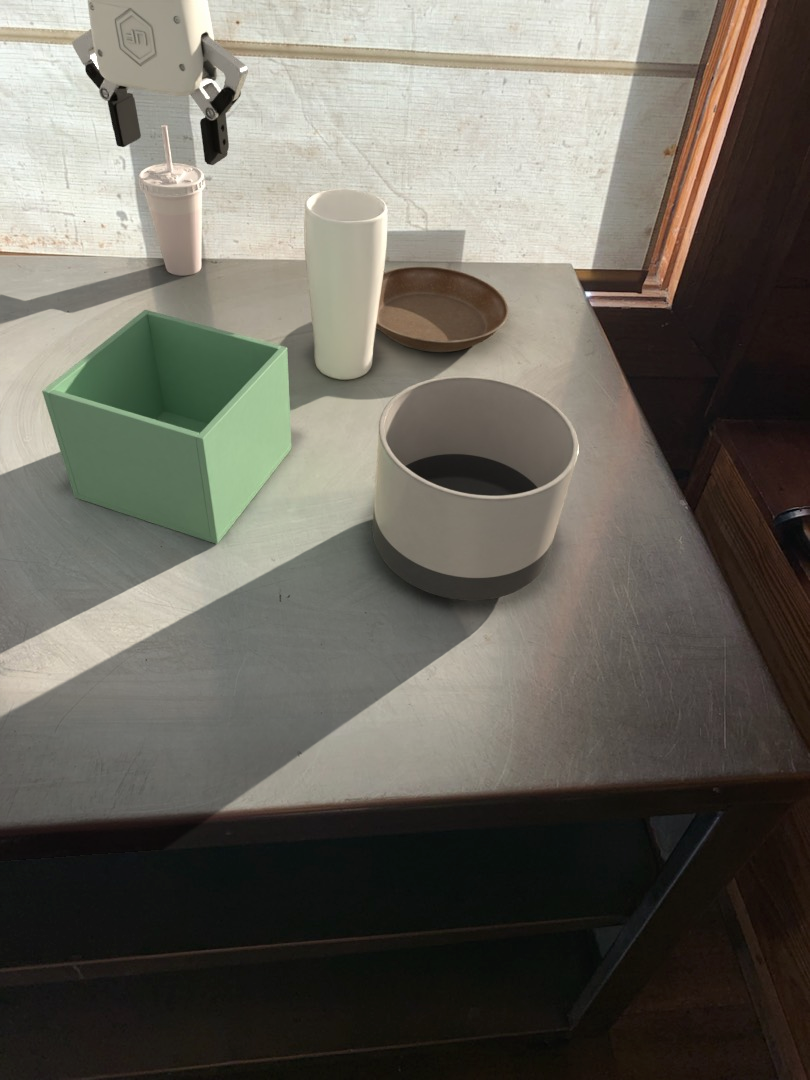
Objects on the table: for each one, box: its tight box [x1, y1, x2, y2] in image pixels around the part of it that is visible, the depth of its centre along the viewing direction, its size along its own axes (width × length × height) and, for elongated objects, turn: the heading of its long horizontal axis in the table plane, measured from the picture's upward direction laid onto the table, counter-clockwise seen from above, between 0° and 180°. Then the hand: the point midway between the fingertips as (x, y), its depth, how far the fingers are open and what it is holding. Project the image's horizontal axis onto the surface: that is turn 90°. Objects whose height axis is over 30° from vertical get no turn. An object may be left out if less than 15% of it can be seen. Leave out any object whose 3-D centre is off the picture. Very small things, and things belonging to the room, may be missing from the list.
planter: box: [372, 375, 580, 601], centre depth 54 cm, size 13×13×10 cm
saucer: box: [376, 265, 509, 353], centre depth 79 cm, size 15×15×3 cm
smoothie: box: [137, 124, 206, 277], centre depth 80 cm, size 6×6×14 cm
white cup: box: [303, 188, 388, 381], centre depth 68 cm, size 7×7×15 cm
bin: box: [42, 309, 292, 545], centre depth 58 cm, size 12×12×10 cm
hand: (172, 151), depth 76 cm, fingers open, 9 cm apart
